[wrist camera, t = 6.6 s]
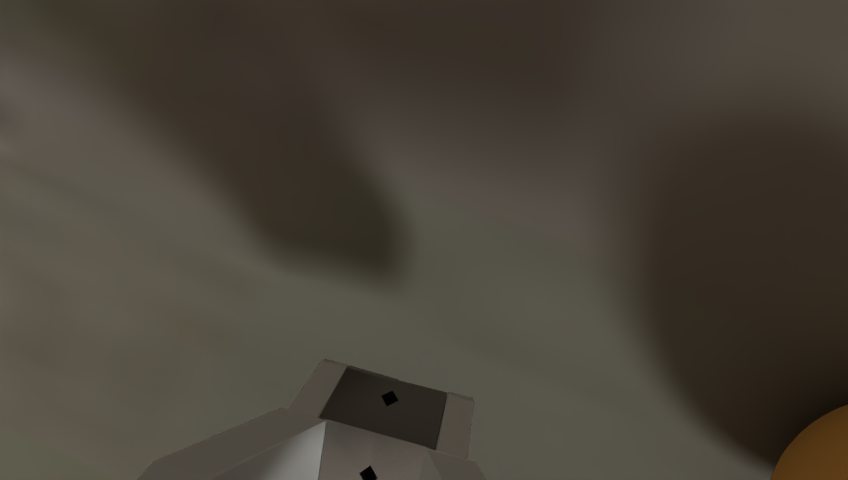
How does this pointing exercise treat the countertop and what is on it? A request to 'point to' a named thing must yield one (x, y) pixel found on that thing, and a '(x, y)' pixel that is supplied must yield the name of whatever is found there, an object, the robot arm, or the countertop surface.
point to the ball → (817, 450)
